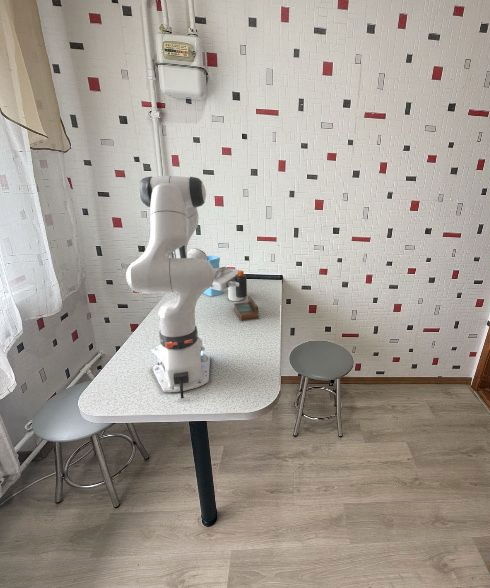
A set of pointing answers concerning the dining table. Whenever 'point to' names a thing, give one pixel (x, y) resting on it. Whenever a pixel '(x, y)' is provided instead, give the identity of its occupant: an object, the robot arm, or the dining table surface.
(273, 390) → the dining table surface
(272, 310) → the dining table surface
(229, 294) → the pill bottle
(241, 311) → the brown tray
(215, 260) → the vase
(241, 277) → the bottle
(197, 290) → the robot arm
